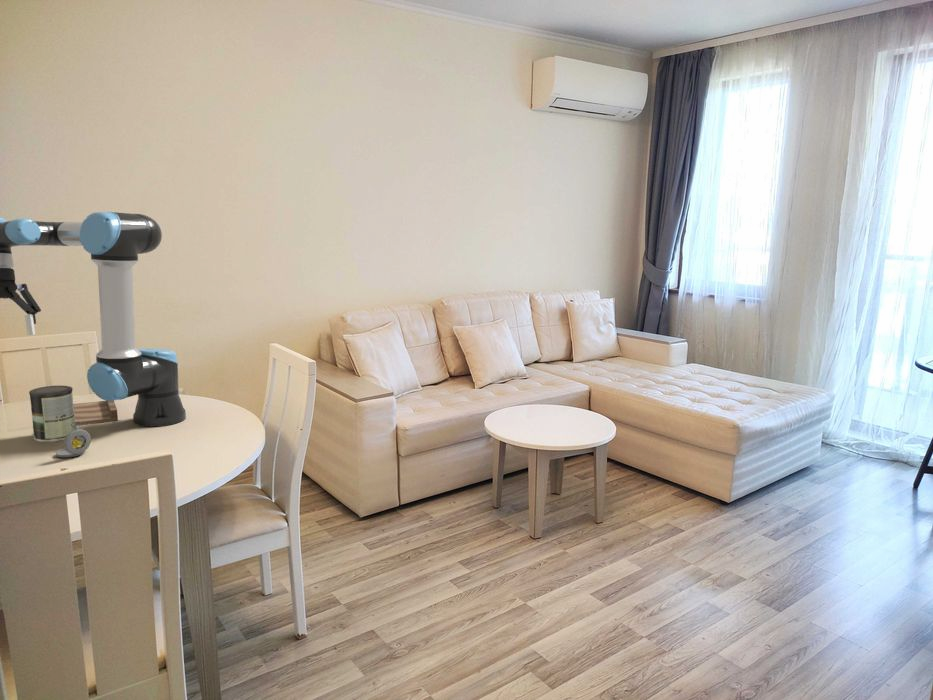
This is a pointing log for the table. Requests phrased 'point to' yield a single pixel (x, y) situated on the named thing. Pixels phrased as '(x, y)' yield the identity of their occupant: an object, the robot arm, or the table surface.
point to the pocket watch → (75, 442)
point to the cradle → (95, 412)
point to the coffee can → (52, 412)
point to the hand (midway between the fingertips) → (8, 336)
